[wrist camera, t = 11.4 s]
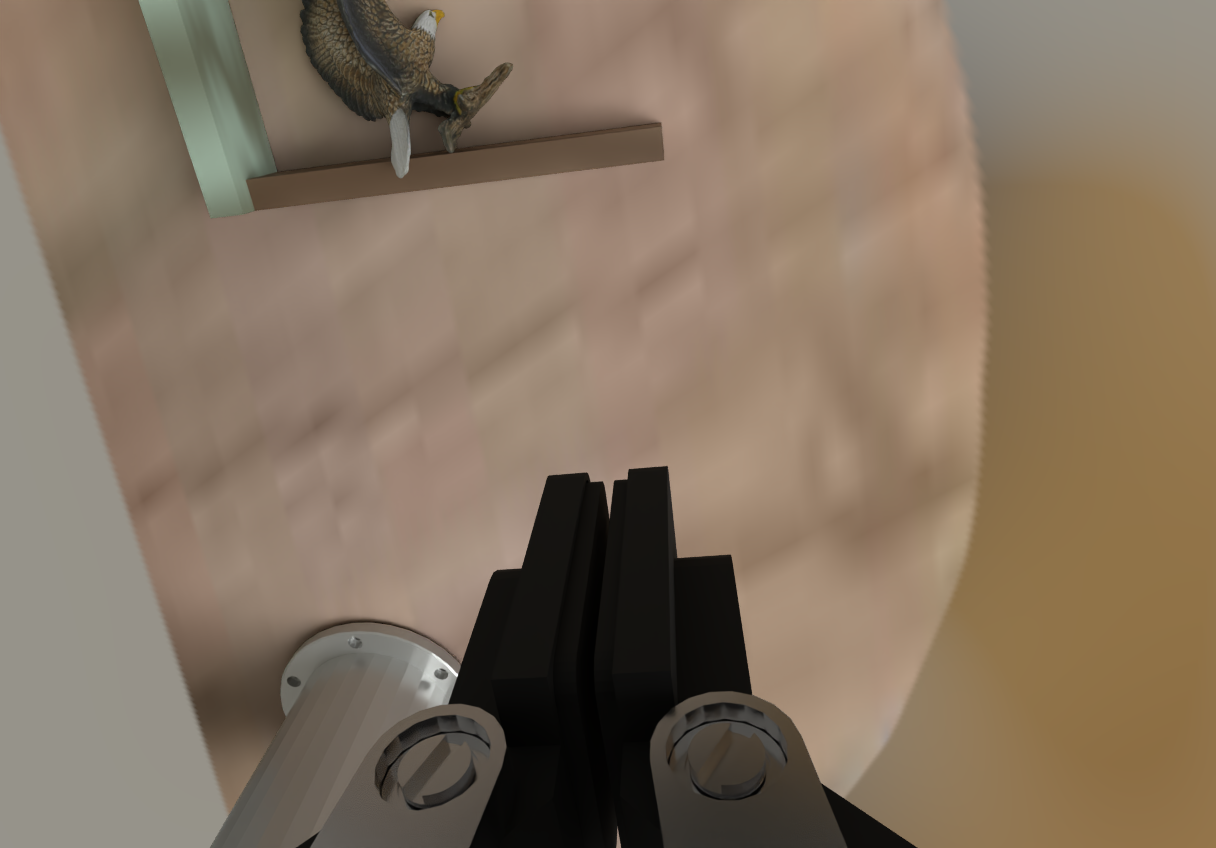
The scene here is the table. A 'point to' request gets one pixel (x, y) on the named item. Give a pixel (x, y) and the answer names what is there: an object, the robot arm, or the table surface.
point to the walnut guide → (248, 179)
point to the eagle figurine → (389, 69)
